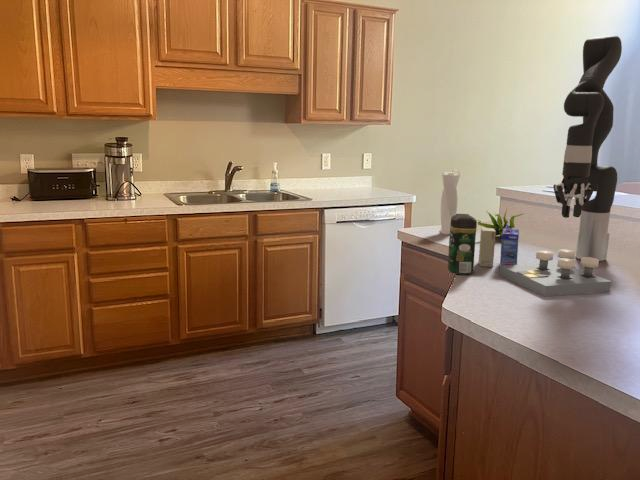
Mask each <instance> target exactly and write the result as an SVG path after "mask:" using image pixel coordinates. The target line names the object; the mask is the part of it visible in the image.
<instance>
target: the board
mask: <svg viewBox="0 0 640 480" xmlns="http://www.w3.org/2000/svg"><path fill="white" fill-rule="evenodd" d="M539 264H540V263H527V264H524V263H523V264H517V265H507V266H501V269H499V270H500V273H499V276H501V277H503V278H505V279H507V280H509V281H512V282H514V283H516V284H518V285H521V286H523V287H525V288H526V289H529V290H531V291H532V292H535V293H538V294H539V295H541V296H543V297H552V296H553V297H554V296H564V295H567V296H570V295H579V294H593V293H605V292H611V288H612V280H609V279H607V278H604V277H601V276H598V275H595V274H593V276H585V275H584V270H582V269H579V268H577V267H575V269H570V278H563V277H561V269H562V268H560V267H558V266H557V265H558V262H548V267H547V269H541V268H539Z"/></svg>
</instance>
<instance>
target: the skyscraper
mask: <svg viewBox="0 0 640 480" xmlns="http://www.w3.org/2000/svg"><path fill="white" fill-rule="evenodd" d="M454 171H456V172H457V173H458V174H456V172H454ZM441 176H442V184H443V189H442V193H441V198H440V199H441V200H440V224H441V228H440V230H439V232H440V233H441V235H449V236H450V224H451V217H452V216H454V215H456V214H457V212H458V191H457V186H458V183H459V179H460V176H461V174H460V172H459V170H458V169H456V168H454V169H452V171H450V172H449V171H444V172H442V175H441Z"/></svg>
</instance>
